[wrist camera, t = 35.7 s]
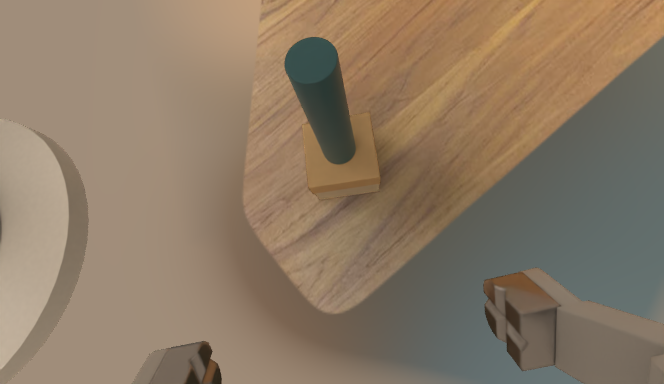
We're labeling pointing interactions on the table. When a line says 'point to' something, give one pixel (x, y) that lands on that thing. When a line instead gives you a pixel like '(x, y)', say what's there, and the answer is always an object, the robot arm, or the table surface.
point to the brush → (331, 124)
